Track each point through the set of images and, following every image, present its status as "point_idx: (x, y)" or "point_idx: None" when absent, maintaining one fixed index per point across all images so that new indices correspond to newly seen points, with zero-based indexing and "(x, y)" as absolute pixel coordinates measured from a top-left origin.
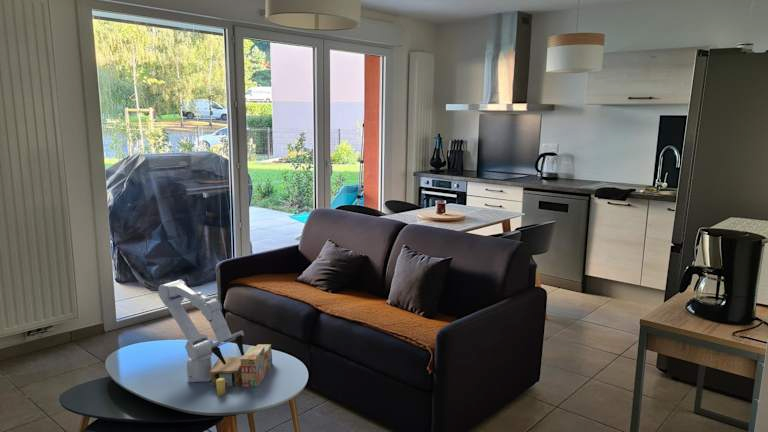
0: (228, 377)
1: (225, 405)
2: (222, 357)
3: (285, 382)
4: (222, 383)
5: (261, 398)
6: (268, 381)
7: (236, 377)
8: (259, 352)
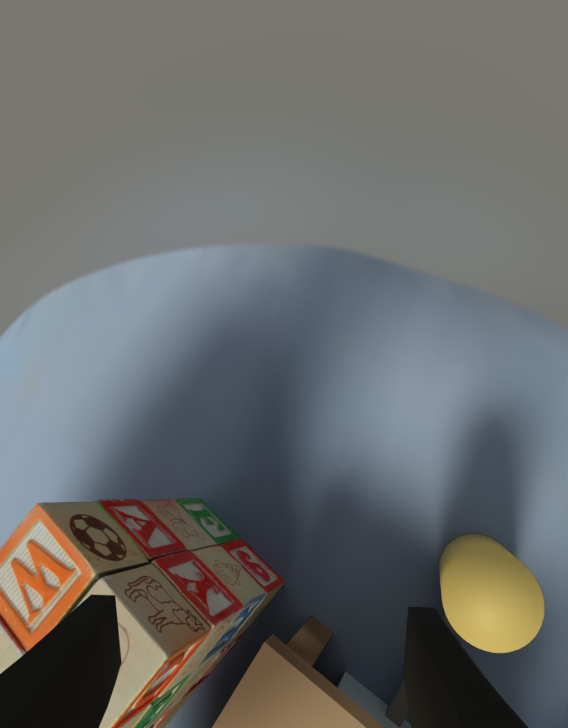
0: None
1: (497, 359)
2: (459, 688)
3: (32, 433)
4: (477, 547)
5: (242, 313)
6: None
7: (298, 642)
8: None
